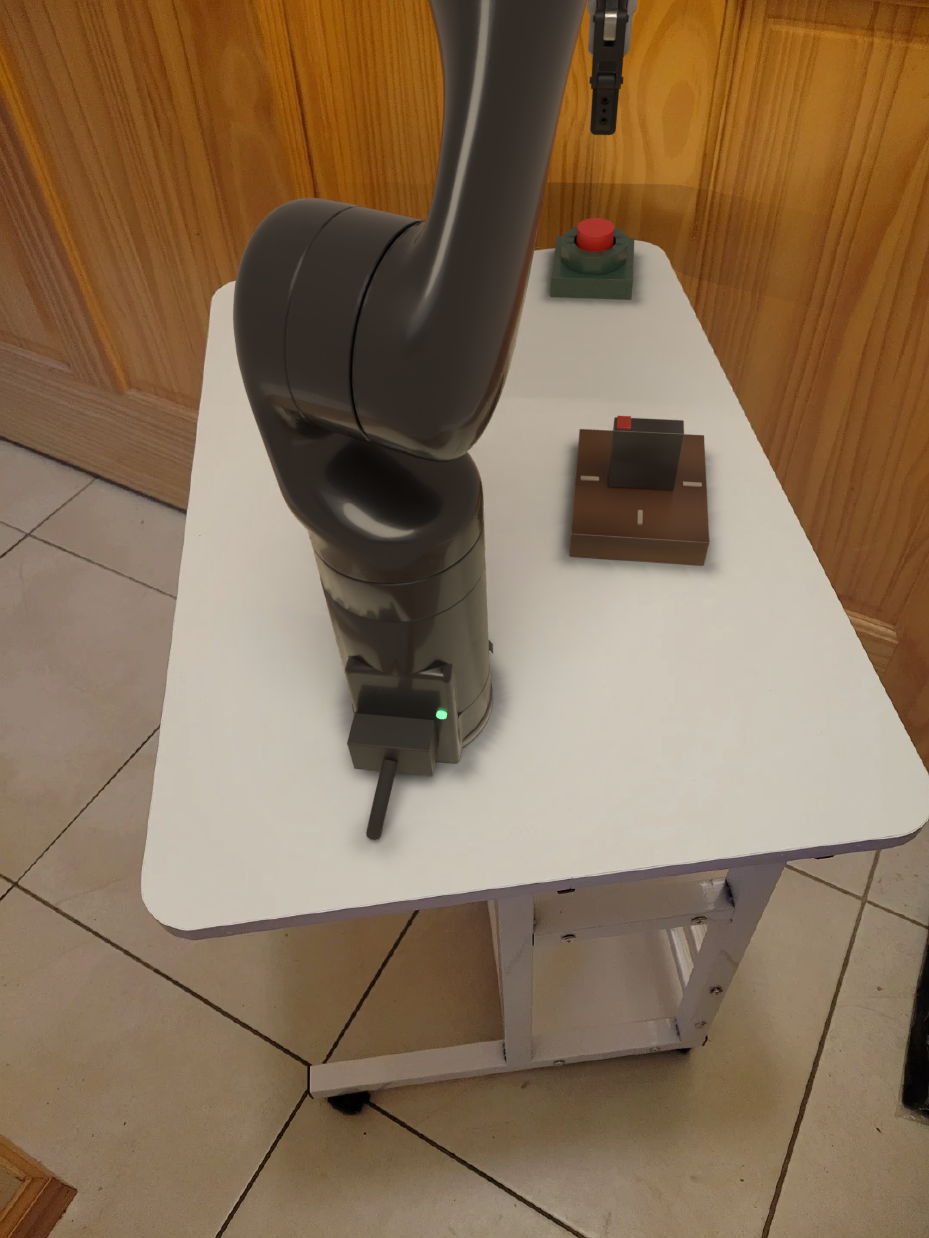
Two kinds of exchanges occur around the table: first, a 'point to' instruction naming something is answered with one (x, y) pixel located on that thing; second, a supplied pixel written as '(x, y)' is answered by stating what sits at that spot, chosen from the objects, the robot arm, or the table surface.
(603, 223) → the button
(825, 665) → the table surface
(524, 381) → the table surface
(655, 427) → the lock knob
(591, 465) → the panel
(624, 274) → the button box
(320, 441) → the robot arm
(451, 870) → the table surface
